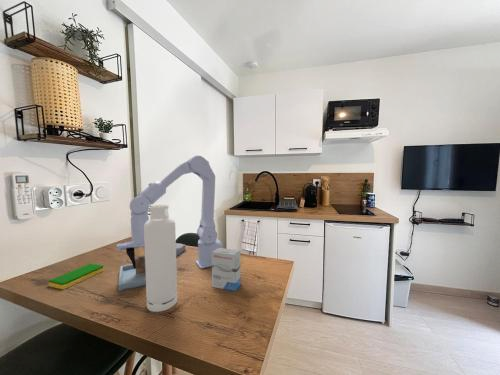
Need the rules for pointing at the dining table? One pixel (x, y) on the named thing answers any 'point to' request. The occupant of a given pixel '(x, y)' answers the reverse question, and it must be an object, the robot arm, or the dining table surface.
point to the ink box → (226, 269)
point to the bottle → (160, 259)
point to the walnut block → (140, 264)
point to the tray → (130, 278)
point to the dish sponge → (75, 276)
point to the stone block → (179, 248)
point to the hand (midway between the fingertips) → (141, 266)
